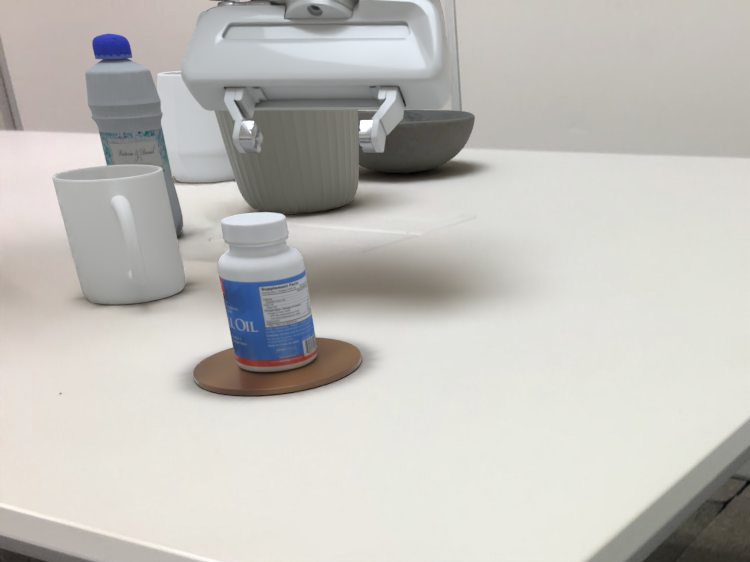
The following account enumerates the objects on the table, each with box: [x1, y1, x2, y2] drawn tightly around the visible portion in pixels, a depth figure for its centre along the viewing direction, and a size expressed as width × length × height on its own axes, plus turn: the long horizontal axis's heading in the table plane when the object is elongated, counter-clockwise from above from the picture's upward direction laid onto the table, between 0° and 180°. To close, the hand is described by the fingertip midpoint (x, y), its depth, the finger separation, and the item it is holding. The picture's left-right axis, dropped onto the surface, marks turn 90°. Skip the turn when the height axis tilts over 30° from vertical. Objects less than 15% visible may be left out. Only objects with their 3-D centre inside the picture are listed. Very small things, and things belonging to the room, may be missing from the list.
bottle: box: [84, 33, 184, 237], centre depth 104 cm, size 7×7×20 cm
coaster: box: [192, 336, 362, 397], centre depth 70 cm, size 11×11×1 cm
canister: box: [215, 110, 360, 214], centre depth 118 cm, size 18×18×21 cm
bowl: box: [358, 109, 476, 174], centre depth 144 cm, size 21×21×8 cm
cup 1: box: [51, 165, 186, 305], centre depth 84 cm, size 8×12×10 cm
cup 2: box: [156, 70, 235, 184], centre depth 141 cm, size 13×13×14 cm
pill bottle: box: [217, 211, 317, 372], centre depth 67 cm, size 6×5×10 cm
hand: (308, 148), depth 75 cm, fingers open, 8 cm apart
